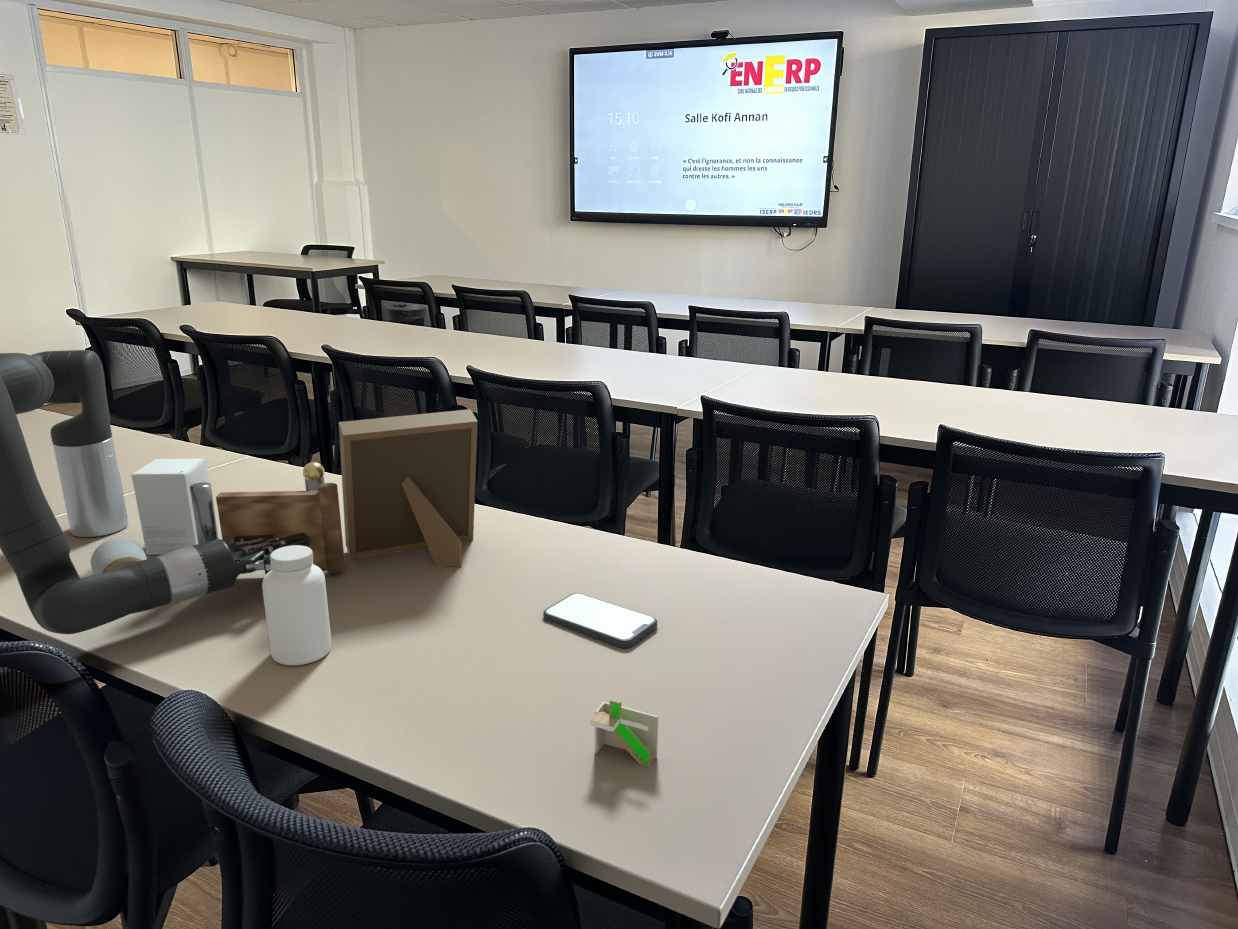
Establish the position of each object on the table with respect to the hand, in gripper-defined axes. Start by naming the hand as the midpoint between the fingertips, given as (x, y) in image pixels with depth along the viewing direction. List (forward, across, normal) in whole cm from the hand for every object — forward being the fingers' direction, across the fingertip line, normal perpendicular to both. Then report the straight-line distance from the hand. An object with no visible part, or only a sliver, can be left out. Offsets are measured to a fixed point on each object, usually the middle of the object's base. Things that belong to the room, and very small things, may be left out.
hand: (306, 539), depth 137 cm
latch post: (+4, +4, +7) cm, 9 cm away
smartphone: (+24, -43, +8) cm, 50 cm away
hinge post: (-11, +11, +7) cm, 17 cm away
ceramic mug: (-22, +16, +7) cm, 28 cm away
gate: (-2, +4, +6) cm, 7 cm away
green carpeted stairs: (+4, -68, +8) cm, 68 cm away
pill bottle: (-12, -21, +7) cm, 25 cm away
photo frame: (+17, -4, +7) cm, 19 cm away
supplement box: (-10, +28, +7) cm, 31 cm away
